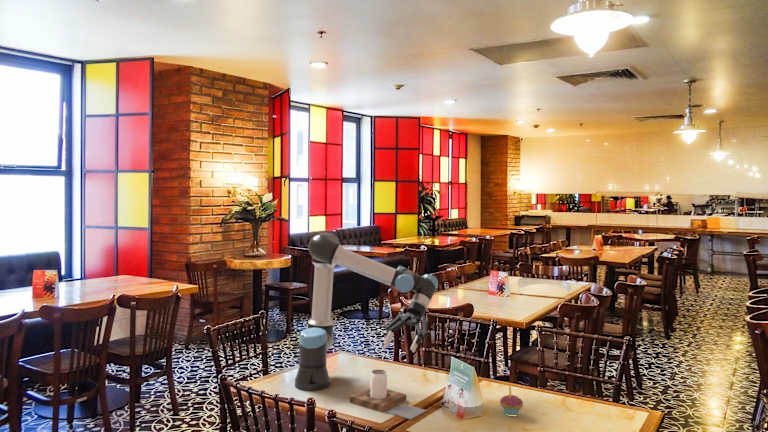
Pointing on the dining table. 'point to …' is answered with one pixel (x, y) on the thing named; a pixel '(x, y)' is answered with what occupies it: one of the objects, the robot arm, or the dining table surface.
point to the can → (378, 384)
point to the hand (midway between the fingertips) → (398, 348)
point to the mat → (406, 411)
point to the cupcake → (511, 404)
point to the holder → (376, 404)
